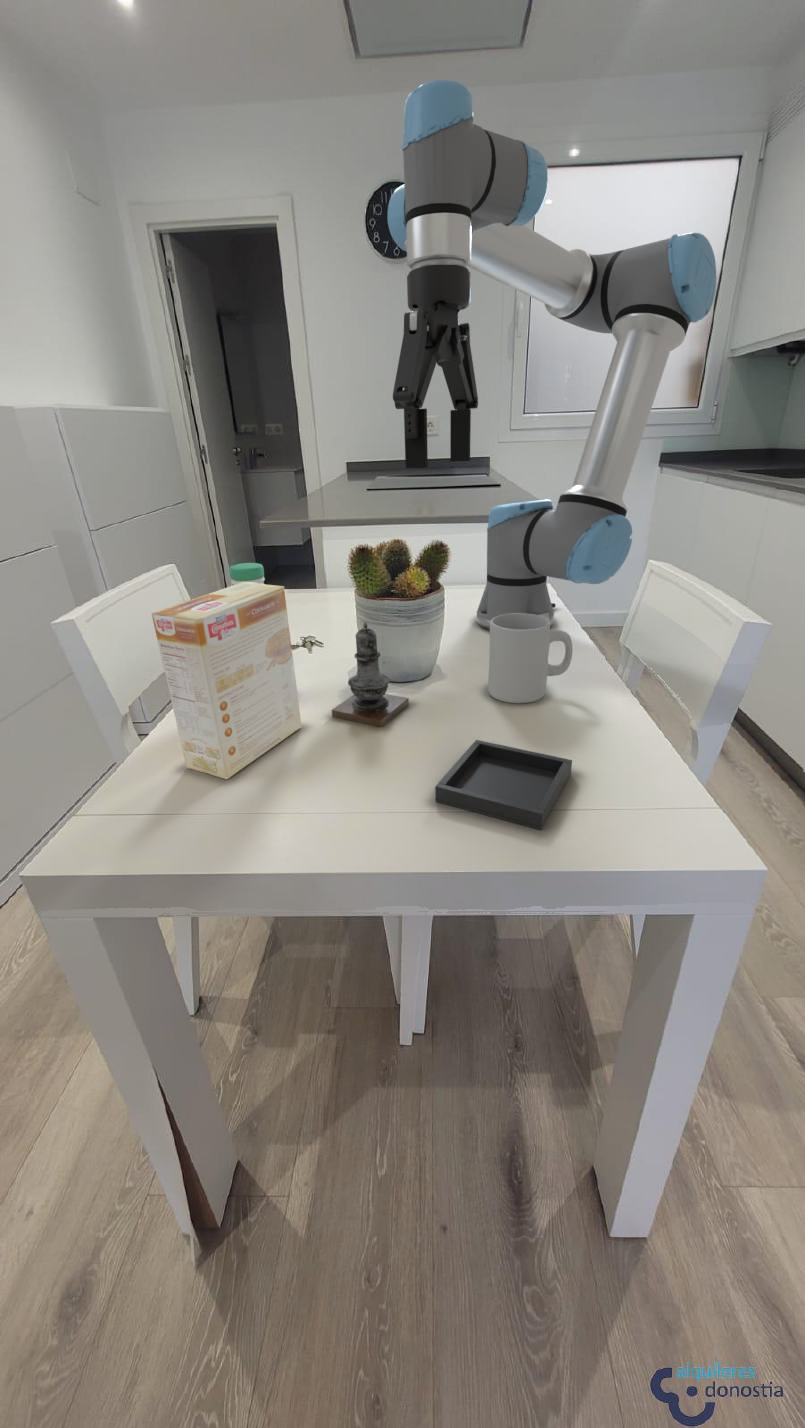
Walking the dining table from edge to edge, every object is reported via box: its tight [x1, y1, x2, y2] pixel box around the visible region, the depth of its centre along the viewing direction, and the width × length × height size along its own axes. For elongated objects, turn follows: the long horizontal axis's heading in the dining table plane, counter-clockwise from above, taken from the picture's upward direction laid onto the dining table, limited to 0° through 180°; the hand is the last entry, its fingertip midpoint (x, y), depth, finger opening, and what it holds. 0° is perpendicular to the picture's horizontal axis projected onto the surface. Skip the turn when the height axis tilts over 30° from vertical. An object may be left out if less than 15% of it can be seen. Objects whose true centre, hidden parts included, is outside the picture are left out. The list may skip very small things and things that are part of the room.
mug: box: [487, 613, 573, 704], centre depth 87 cm, size 12×8×11 cm
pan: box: [434, 739, 573, 831], centre depth 65 cm, size 12×12×2 cm
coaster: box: [331, 693, 410, 728], centre depth 85 cm, size 8×8×1 cm
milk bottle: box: [228, 562, 266, 586], centre depth 86 cm, size 8×8×20 cm
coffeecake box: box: [150, 582, 303, 780], centre depth 72 cm, size 15×7×20 cm, turn 152°
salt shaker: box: [347, 621, 391, 712], centre depth 82 cm, size 6×6×12 cm
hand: (439, 464), depth 79 cm, fingers open, 13 cm apart
